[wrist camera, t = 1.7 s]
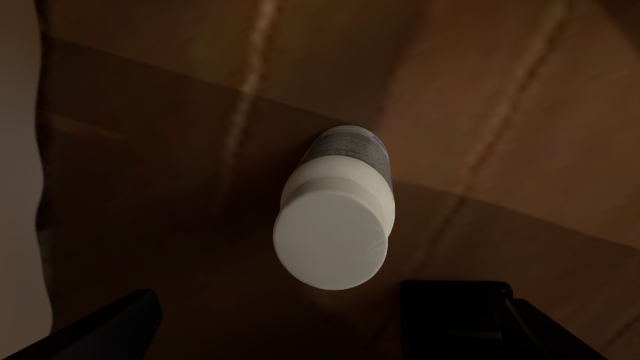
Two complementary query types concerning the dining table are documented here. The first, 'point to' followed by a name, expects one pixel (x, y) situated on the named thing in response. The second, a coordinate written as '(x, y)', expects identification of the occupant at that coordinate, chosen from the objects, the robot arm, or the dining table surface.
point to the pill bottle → (337, 210)
